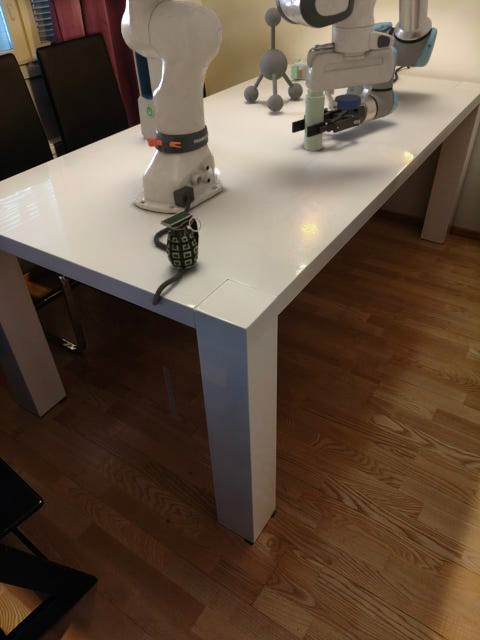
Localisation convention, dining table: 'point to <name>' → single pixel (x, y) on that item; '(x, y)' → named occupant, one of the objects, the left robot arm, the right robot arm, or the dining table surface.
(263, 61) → the molecular model
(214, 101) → the dining table surface
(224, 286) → the dining table surface
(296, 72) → the decorative block
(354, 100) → the lid
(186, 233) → the grenade
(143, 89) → the electronic device
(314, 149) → the jar
